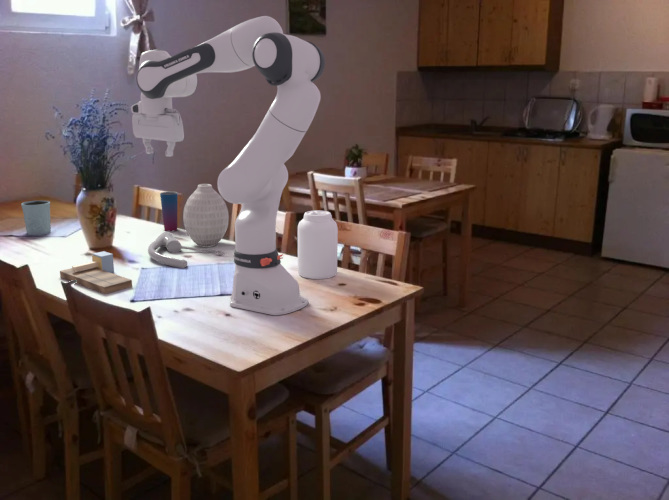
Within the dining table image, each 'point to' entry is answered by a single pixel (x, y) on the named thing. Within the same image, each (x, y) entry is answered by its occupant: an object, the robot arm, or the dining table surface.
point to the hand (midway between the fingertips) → (159, 155)
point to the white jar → (317, 245)
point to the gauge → (98, 262)
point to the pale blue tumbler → (37, 217)
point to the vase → (205, 216)
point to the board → (97, 279)
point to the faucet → (171, 250)
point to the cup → (169, 210)
